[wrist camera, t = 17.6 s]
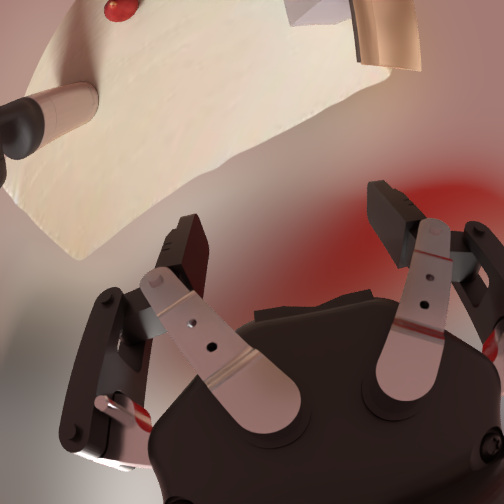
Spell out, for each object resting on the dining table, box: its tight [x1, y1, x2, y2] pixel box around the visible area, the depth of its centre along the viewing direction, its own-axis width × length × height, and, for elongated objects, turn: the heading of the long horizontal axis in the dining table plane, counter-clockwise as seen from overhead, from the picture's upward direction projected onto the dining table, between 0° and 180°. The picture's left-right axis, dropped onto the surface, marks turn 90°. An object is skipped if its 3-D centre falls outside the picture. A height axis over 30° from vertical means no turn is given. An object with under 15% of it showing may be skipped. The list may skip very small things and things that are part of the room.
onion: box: [104, 0, 138, 22], centre depth 25 cm, size 6×6×8 cm
